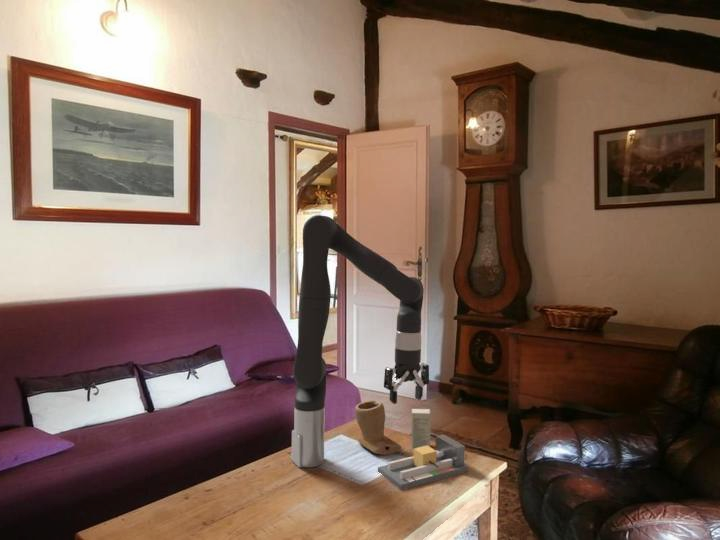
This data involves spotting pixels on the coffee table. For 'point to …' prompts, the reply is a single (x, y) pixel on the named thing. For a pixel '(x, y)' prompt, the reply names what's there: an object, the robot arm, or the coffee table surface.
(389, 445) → the brown clay boot
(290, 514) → the coffee table surface
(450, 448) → the grey end plate
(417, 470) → the base
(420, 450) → the gauge carriage
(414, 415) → the skincare box
